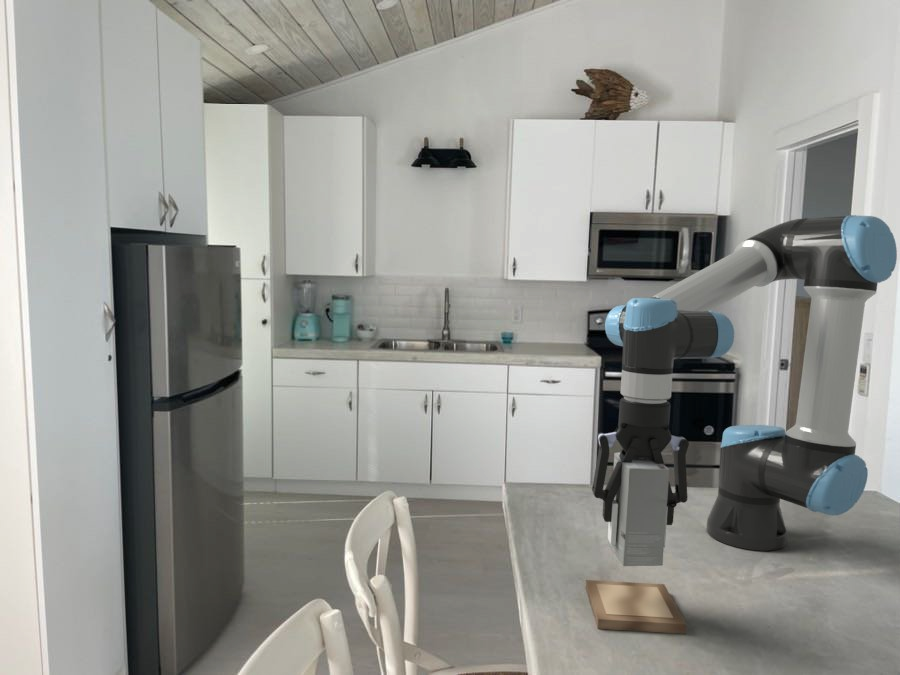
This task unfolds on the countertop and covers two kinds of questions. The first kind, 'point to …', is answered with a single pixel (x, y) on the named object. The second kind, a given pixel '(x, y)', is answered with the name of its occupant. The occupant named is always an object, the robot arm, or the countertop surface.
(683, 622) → the tan flat square board
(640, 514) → the skincare box
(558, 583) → the countertop surface
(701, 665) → the countertop surface
